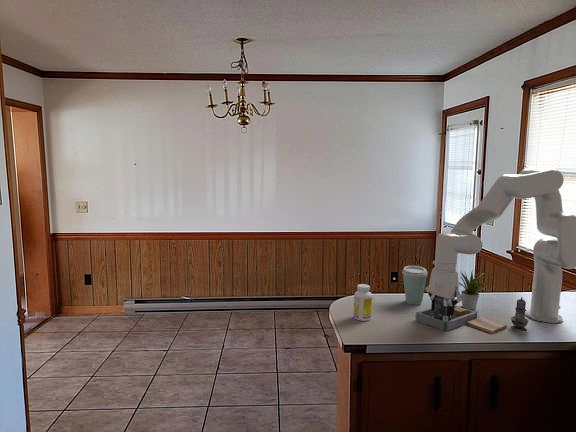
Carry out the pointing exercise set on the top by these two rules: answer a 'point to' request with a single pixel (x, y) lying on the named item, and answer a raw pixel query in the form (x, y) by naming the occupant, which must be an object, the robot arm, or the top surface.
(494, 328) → the pad
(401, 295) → the top surface
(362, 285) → the supplement bottle
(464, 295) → the house plant
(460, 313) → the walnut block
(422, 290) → the disposable coffee cup
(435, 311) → the pill bottle
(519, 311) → the stone chess piece
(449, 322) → the bin
